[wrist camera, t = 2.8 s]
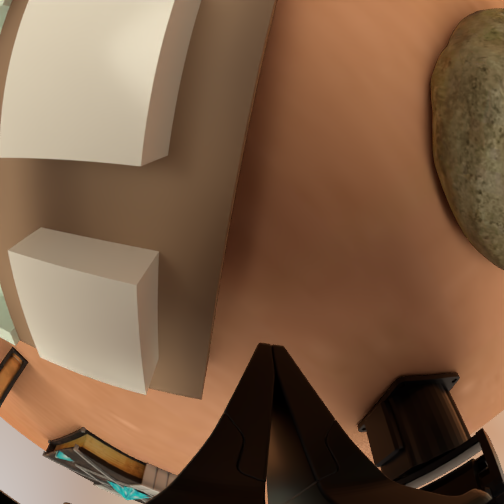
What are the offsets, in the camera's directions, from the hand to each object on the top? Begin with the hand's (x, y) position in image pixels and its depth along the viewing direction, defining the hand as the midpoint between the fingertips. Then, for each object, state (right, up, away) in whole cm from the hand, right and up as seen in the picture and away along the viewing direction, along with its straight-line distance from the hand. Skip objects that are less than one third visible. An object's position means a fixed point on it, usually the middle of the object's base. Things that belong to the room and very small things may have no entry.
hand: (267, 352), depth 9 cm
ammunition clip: (-23, -8, +8) cm, 26 cm away
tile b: (-5, +9, -3) cm, 10 cm away
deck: (-7, +6, +1) cm, 9 cm away
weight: (+13, +9, 0) cm, 16 cm away
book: (-16, -26, +17) cm, 35 cm away
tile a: (-6, +2, 0) cm, 7 cm away
